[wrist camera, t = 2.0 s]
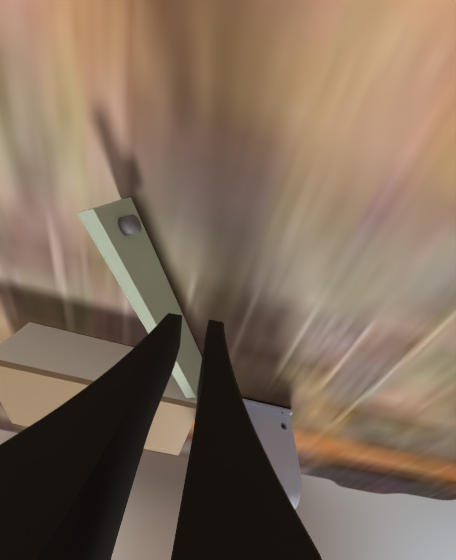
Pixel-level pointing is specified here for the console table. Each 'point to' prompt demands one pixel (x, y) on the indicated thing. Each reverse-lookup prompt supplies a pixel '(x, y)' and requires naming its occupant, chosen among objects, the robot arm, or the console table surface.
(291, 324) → the console table surface
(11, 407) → the beige flat box
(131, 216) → the door
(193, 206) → the console table surface
